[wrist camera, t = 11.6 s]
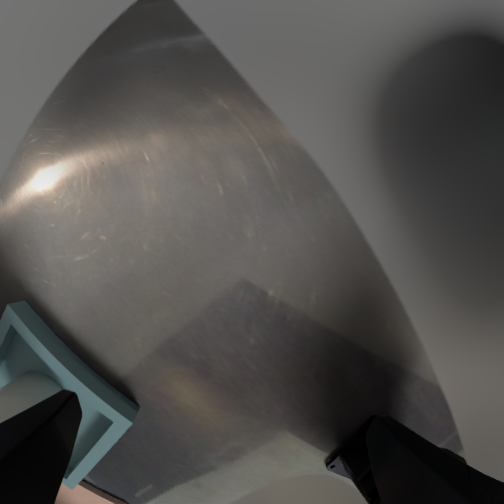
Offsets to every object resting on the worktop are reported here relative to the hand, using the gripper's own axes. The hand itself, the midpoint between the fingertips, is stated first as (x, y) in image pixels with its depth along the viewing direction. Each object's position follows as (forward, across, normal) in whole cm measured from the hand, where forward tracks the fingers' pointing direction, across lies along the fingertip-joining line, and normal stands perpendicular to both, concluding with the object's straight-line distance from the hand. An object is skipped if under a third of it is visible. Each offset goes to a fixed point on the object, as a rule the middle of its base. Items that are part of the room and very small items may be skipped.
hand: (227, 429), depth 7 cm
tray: (+9, +14, +11) cm, 20 cm away
